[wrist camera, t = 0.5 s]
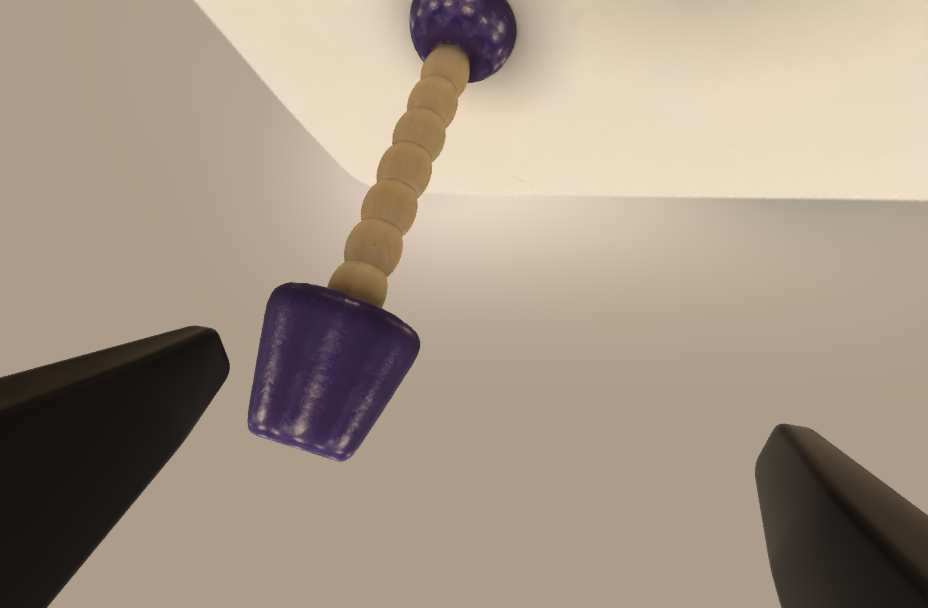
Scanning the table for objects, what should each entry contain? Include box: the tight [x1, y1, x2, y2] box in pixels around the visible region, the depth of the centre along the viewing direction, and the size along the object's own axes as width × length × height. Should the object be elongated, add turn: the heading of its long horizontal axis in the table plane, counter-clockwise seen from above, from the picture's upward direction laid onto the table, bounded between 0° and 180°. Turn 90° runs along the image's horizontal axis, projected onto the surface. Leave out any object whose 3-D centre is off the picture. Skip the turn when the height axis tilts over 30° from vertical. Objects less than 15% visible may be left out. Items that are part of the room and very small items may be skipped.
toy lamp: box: [248, 0, 516, 462], centre depth 17 cm, size 5×5×17 cm
